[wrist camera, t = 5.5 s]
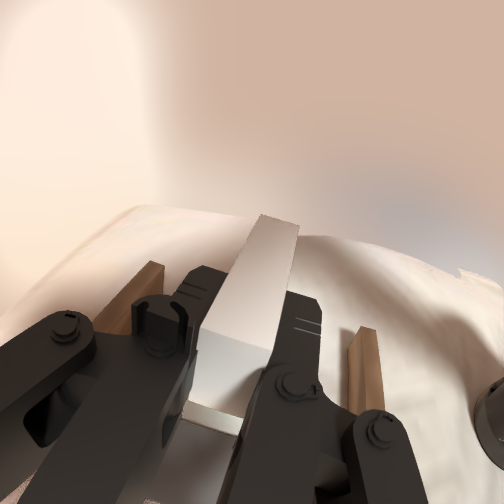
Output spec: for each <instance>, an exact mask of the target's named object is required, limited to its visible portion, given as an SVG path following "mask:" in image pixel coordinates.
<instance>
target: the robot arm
mask: <svg viewBox="0 0 504 504" xmlns="http://www.w3.org/2000/svg"><path fill="white" fill-rule="evenodd" d="M298 230H299V225H295V224H292V223H289V222H285V221H282V220H279V219H276V218H272V217H269V216H266V215H262V214H261V215H260V217H259V219H258V220H257V222H256V224H255V226H254V228H253V230H252V231H251V233H250V235H249V237H248V239H247V241H246V242H245V244H244V246H243V248H242V250H241V252H240V254H239V255H238V257H237V259H236V261H235V263H234V265H233V266H232V268H231V270H230V272H229V274H228V273H225V272H222V271H219V270H216V269H213V268H210V267H207V266H203V265H202V266H200V267H198V268H196V269H194V270H192V271H190V272H189V273H188V275H187V276H186V277H185V279H184V280H183V282H182V284H180V286H179V287H178V288H177V290H176V292H174V294H173V295H172V296H168V295H163V294H158V295H148V296H145V297H142V298H139V299H138V300H136V301H135V302H134V303H132V304H131V321H132V334H129V335H116V334H109V333H103V332H97V331H94V328H93V324H92V322H91V321H90V320H89V319H88V317H87V316H85V315H83V314H81V313H79V312H75V311H69V310H67V311H58V312H56V313H53V314H51V315H49V316H47V317H45V318H44V319H42V320H41V321H39V322H38V323H36V324H34V325H33V326H31V327H30V328H28V329H27V330H25V331H23V332H22V333H20V334H19V335H17V336H16V337H14V338H13V339H11V340H10V341H8V342H7V343H5V344H4V345H2V346H1V347H0V502H1V501H2V500H3V499H4V498H6V497H7V496H8V495H9V494H10V493H11V492H12V491H14V490H15V489H16V488H17V487H18V486H19V485H20V484H22V483H23V482H24V481H25V480H26V479H27V478H28V477H29V476H31V475H32V474H33V473H34V472H35V471H36V470H37V469H38V468H39V469H38V470H37V472H36V473H35V475H34V477H33V478H32V480H31V481H30V483H29V485H28V486H27V488H26V489H25V491H24V493H23V494H22V496H21V498H20V499H19V501H18V503H17V504H143V502H144V500H145V498H146V496H147V493H148V491H149V489H150V487H151V485H152V482H153V480H154V478H155V476H156V473H157V471H158V469H159V467H160V464H161V462H162V460H163V458H164V456H165V453H166V451H167V449H168V447H169V444H170V442H171V440H172V438H173V436H174V433H175V431H176V429H177V427H178V424H179V422H180V420H181V417H182V412H183V406H184V404H185V402H186V400H187V397H188V395H189V399H188V400H189V401H192V402H195V403H198V404H200V405H203V406H206V407H209V408H212V409H215V410H218V411H221V412H224V413H227V414H230V415H234V416H237V417H240V418H244V421H243V424H242V427H241V429H240V432H239V434H238V436H237V438H236V440H235V443H234V445H233V447H232V449H233V452H232V455H231V458H230V462H229V465H228V468H227V471H226V474H225V477H224V481H223V484H222V487H221V490H220V493H219V496H218V499H217V502H216V504H428V500H427V496H426V493H425V489H424V486H423V482H422V479H421V476H420V472H419V469H418V466H417V463H416V459H415V456H414V453H413V450H412V447H411V444H410V441H409V438H408V435H407V432H406V430H405V428H404V426H403V424H402V423H401V422H400V421H399V420H398V419H397V418H396V417H395V416H394V415H392V414H390V413H388V412H386V411H384V410H378V409H371V410H367V411H364V412H363V413H361V414H360V415H359V416H357V415H355V414H353V413H351V412H349V411H347V410H345V409H343V408H342V407H340V406H338V405H337V404H335V403H334V402H332V401H331V400H330V399H329V398H328V397H327V396H326V395H325V394H324V392H323V387H322V385H321V384H320V382H319V380H318V368H319V354H320V339H321V336H320V335H321V322H322V311H321V309H320V307H319V304H318V302H317V300H316V299H313V298H310V297H307V296H303V295H300V294H297V293H293V292H290V291H287V290H286V289H287V285H288V280H289V275H290V271H291V266H292V261H293V256H294V251H295V246H296V241H297V236H298ZM474 420H475V427H476V431H477V434H478V437H479V440H480V442H481V444H482V446H483V448H484V450H485V451H486V453H487V454H488V456H489V457H490V458H491V459H492V460H493V462H494V463H495V464H496V465H498V466H499V467H500V468H502V469H503V470H504V377H503V378H502V379H500V380H498V381H497V382H495V383H494V384H492V385H491V386H490V387H489V388H488V389H487V390H486V391H485V392H484V393H483V394H482V395H481V396H480V397H479V399H478V401H477V403H476V406H475V411H474Z"/></svg>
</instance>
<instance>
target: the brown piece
mask: <svg viewBox="0 0 504 504" xmlns="http://www.w3.org/2000/svg"><path fill="white" fill-rule="evenodd" d="M164 269H165V266H164V265H161V264H159V263H156V262H153V261H149V262H148V263H147V264H146V265H145V266H144V267H143V268H142V269H141V270H140V271H139V272H138V273H137V274H136V276H135V277H134V278H133V279H132V280H131V281H130V282H129V283H128V284H127V285H126V286H125V287H124V288H123V289H122V290H121V291H120V292H119V293H118V294H117V296H116V297H115V298H114V299H113V300H112V301H111V302H110V303H109V304H108V305H107V306H106V307H105V308H104V310H103V311H102V312H101V313H100V314H99V315H98V316H97V317H96V318H95V319H94V321H93V322H92V324H93V328H94V331H97V332H103V333H109V334H116V335H129V334H131V333H132V321H131V304H132V303H134V302H135V301H136V300H138V299H139V298H142V297H145V296H148V295H158V294H162V292H163V281H164ZM347 350H348V411H349V412H351V413H353V414H355V415H357V416H359V415H360V414H361V413H363V412H364V411H367V410H371V409H378V410H384V411H385V403H384V392H383V383H382V373H381V365H380V357H379V349H378V342H377V335H376V330H373V329H370V328H366V327H362V326H361V327H360V328H359V330H358V332H357V334H356V336H355V337H354V339H353V341H352V343H351V344H350V346H349V348H348V349H347ZM235 440H236V437H233V436H229V435H226V434H223V433H220V432H217V431H214V430H211V429H208V428H205V427H202V426H199V425H196V424H193V423H190V422H188V421H185V420H182V419H181V420H180V422H179V424H178V427H177V429H176V431H175V433H174V436H173V438H172V440H171V442H170V444H169V447H168V449H167V451H166V453H165V456H164V458H163V460H162V462H161V464H160V467H159V469H158V471H157V473H156V476H155V478H154V480H153V482H152V485H151V487H150V489H149V491H148V493H147V496H146V498H149V499H151V500H154V501H156V502H159V503H161V504H216V502H217V499H218V496H219V493H220V490H221V487H222V484H223V481H224V477H225V474H226V471H227V468H228V465H229V462H230V458H231V455H232V452H233V449H232V447H233V445H234V443H235Z"/></svg>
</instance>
